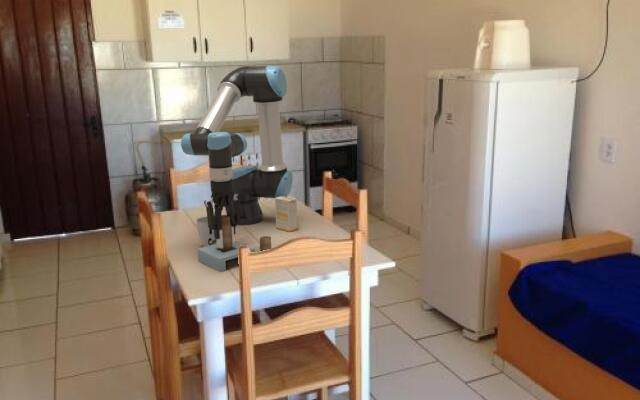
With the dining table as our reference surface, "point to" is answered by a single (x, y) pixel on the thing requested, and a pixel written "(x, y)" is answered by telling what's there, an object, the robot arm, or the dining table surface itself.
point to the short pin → (265, 243)
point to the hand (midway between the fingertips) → (225, 245)
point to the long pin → (226, 233)
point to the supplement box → (286, 213)
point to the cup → (205, 232)
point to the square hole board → (218, 255)
